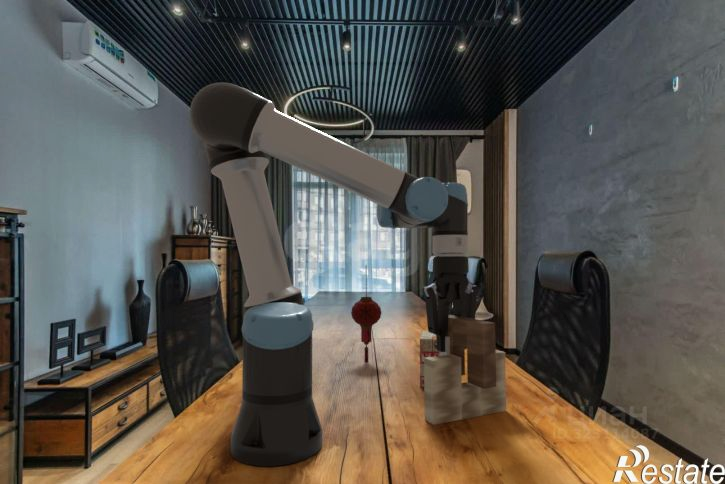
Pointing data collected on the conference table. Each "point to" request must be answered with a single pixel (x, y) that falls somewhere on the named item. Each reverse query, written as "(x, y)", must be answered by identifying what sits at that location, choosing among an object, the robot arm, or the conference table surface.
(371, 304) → the lantern
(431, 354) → the red and beige box
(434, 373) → the grey notched block
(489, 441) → the conference table surface
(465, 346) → the tall brown wooden block
